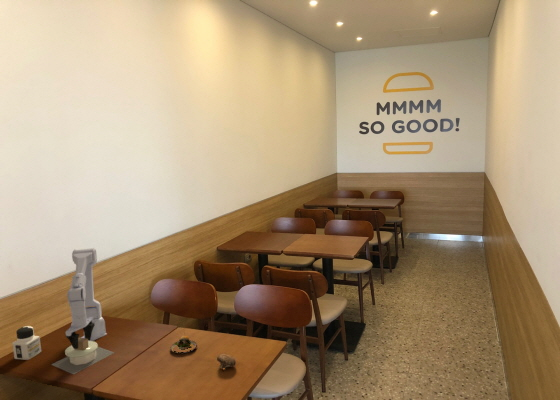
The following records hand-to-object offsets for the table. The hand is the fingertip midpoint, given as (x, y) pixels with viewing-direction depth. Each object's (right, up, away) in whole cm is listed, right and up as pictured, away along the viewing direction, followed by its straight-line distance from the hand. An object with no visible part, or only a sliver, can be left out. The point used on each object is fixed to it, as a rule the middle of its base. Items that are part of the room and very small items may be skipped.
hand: (81, 344), depth 188 cm
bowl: (0, -7, +1) cm, 7 cm away
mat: (0, -7, +1) cm, 7 cm away
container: (-27, -7, +6) cm, 29 cm away
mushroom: (+64, -7, -9) cm, 65 cm away
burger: (+43, -5, +8) cm, 44 cm away
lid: (0, -3, +1) cm, 3 cm away
